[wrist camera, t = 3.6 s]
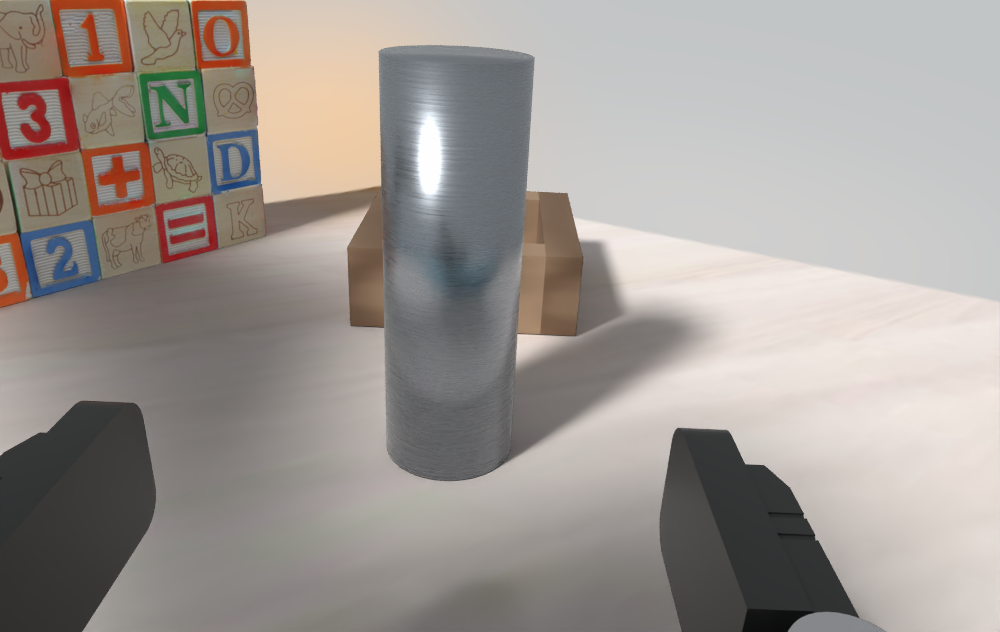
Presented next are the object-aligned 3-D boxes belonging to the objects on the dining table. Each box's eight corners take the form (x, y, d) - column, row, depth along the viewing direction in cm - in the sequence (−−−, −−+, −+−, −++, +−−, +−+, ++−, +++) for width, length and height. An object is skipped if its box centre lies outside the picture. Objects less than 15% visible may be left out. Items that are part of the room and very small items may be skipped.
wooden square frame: (350, 325, 32) (347, 247, 31) (384, 248, 41) (383, 184, 39) (575, 335, 32) (583, 258, 31) (561, 257, 41) (567, 193, 40)
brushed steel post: (377, 477, 23) (366, 59, 18) (395, 407, 27) (390, 42, 22) (510, 483, 23) (537, 67, 18) (510, 412, 27) (532, 49, 22)
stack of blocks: (-244, 379, 27) (-403, -3, 22) (-284, 325, 30) (-430, -16, 25) (269, 237, 42) (249, -5, 37) (204, 212, 46) (177, -13, 40)
